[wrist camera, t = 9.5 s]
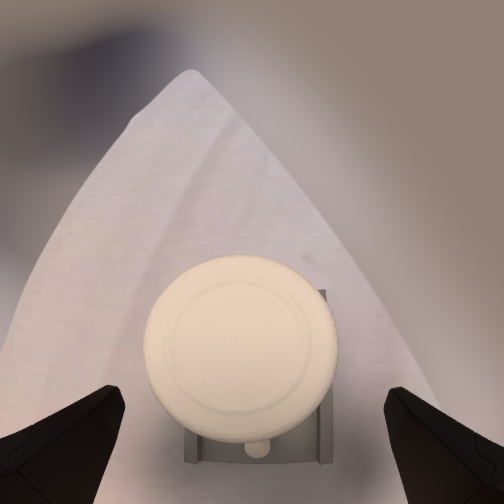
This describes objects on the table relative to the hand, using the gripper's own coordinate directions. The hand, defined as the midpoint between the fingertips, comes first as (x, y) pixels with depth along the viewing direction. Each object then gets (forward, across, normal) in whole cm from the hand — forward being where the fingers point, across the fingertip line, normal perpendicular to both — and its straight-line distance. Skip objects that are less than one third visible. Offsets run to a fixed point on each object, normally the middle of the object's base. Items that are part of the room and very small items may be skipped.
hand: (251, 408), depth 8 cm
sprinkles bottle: (+8, 0, +6) cm, 10 cm away
